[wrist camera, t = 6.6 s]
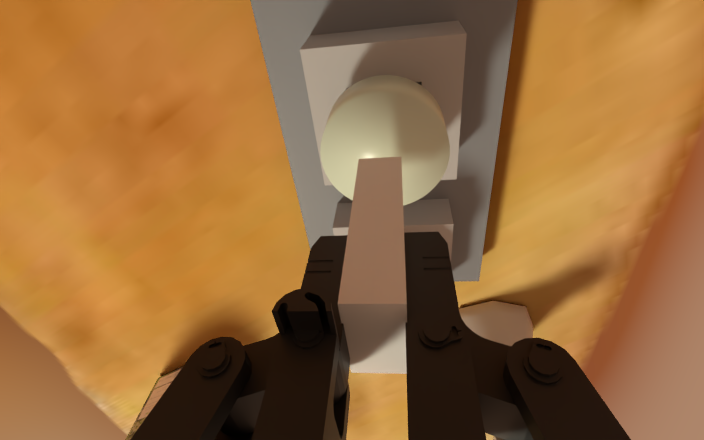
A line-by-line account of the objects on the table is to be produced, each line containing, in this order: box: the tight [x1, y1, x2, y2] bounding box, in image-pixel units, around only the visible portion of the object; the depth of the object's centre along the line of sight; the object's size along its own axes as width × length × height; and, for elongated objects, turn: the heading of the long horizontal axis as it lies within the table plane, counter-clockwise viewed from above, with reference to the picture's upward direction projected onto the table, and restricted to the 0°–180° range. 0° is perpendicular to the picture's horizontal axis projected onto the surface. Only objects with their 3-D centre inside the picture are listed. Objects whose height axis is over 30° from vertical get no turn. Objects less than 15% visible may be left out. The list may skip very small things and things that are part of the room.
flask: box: [459, 301, 533, 440], centre depth 30 cm, size 7×7×10 cm
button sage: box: [320, 75, 450, 206], centre depth 17 cm, size 5×5×4 cm
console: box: [251, 0, 518, 281], centre depth 20 cm, size 28×12×4 cm, turn 6°
